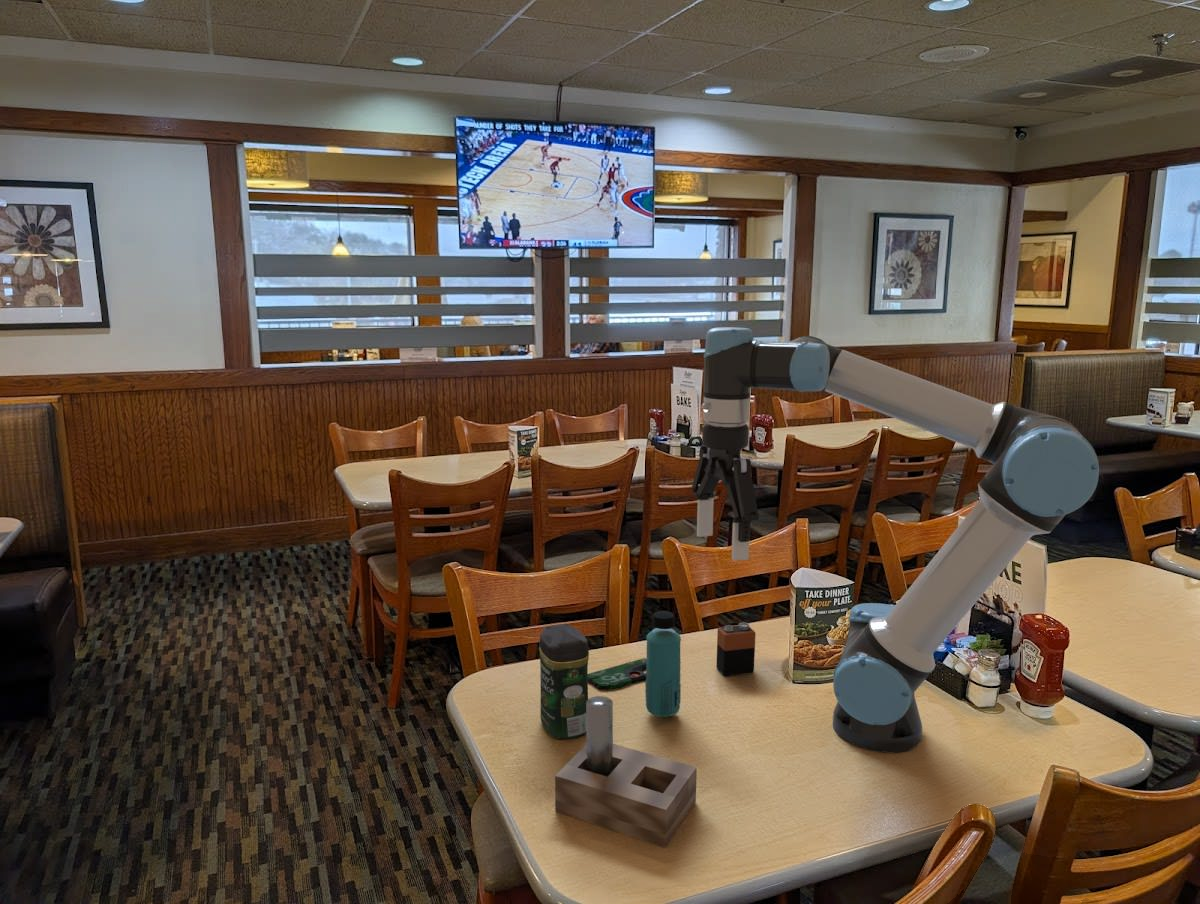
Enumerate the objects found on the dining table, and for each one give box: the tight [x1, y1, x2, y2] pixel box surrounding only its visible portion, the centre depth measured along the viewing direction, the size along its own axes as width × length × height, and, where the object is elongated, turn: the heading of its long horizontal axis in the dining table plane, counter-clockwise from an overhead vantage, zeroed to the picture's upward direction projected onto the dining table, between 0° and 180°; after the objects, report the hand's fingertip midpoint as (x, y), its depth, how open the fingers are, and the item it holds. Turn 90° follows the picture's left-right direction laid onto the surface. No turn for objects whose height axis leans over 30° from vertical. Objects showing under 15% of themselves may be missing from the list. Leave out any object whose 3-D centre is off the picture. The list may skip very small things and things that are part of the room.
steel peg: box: [586, 695, 614, 777], centre depth 129 cm, size 4×4×14 cm
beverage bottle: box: [644, 610, 682, 718], centre depth 154 cm, size 6×7×20 cm
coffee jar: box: [539, 623, 590, 740], centre depth 150 cm, size 10×8×19 cm
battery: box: [716, 622, 756, 677], centre depth 173 cm, size 4×7×10 cm, turn 105°
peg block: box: [554, 743, 698, 849], centre depth 128 cm, size 18×12×6 cm, turn 63°
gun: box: [588, 657, 647, 691], centre depth 171 cm, size 16×2×10 cm
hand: (721, 547), depth 142 cm, fingers open, 13 cm apart
